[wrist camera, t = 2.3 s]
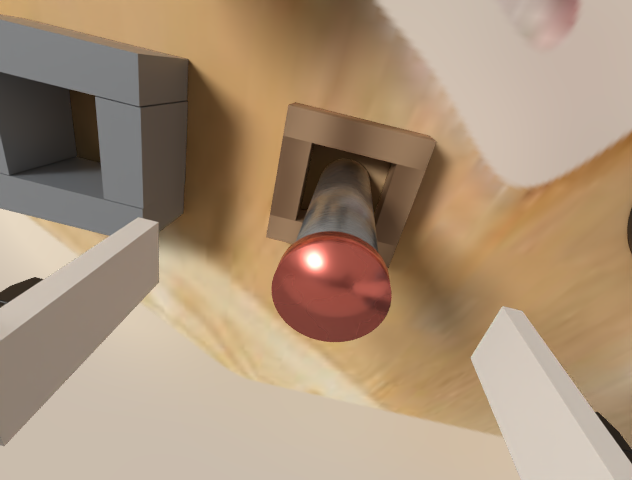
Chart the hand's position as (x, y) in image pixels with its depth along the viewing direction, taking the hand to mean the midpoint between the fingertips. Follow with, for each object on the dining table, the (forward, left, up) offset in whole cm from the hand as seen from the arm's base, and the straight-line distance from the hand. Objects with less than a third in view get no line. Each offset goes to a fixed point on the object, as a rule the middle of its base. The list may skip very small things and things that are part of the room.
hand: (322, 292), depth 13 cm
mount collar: (0, 0, -15) cm, 15 cm away
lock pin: (0, 0, -15) cm, 15 cm away
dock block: (+19, 0, -15) cm, 24 cm away
